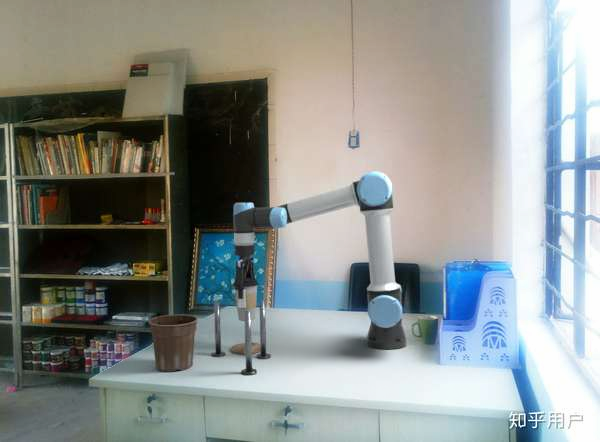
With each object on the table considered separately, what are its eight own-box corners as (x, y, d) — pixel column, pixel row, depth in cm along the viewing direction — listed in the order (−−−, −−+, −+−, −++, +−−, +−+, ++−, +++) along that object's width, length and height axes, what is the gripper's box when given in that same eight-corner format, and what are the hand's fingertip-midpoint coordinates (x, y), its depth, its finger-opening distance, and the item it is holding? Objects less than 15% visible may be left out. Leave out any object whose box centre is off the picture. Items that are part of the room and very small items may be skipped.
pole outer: (258, 370, 174) (257, 310, 173) (254, 375, 169) (252, 313, 168) (244, 369, 175) (242, 309, 174) (239, 374, 170) (237, 313, 169)
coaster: (267, 346, 202) (267, 343, 202) (258, 355, 190) (258, 352, 190) (237, 344, 205) (237, 342, 204) (226, 353, 193) (226, 351, 193)
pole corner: (272, 355, 190) (270, 299, 189) (268, 359, 185) (267, 302, 184) (258, 354, 191) (257, 299, 190) (254, 358, 186) (253, 302, 185)
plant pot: (206, 360, 186) (205, 314, 185) (187, 375, 170) (186, 325, 170) (163, 358, 189) (162, 313, 189) (141, 373, 174) (139, 324, 173)
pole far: (227, 353, 194) (225, 298, 193) (222, 357, 189) (220, 301, 188) (214, 352, 195) (212, 298, 194) (209, 356, 190) (207, 301, 189)
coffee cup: (262, 316, 201) (261, 277, 200) (255, 322, 191) (254, 281, 191) (238, 316, 202) (237, 277, 202) (230, 322, 193) (229, 281, 193)
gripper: (244, 247, 184) (246, 311, 185) (262, 241, 206) (264, 299, 207) (224, 247, 186) (226, 310, 187) (244, 241, 207) (245, 298, 208)
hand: (246, 304), depth 197 cm, fingers closed on coffee cup, 9 cm apart
